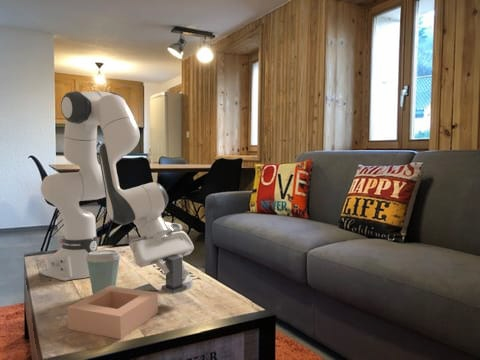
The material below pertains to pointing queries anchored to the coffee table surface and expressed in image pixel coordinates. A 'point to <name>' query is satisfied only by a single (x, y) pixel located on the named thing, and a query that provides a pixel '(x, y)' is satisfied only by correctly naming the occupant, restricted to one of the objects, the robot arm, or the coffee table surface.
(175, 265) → the grey pillar on base
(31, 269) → the coffee table surface
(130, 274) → the coffee table surface
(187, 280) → the wall hook
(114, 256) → the disposable coffee cup
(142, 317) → the box
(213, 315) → the coffee table surface
